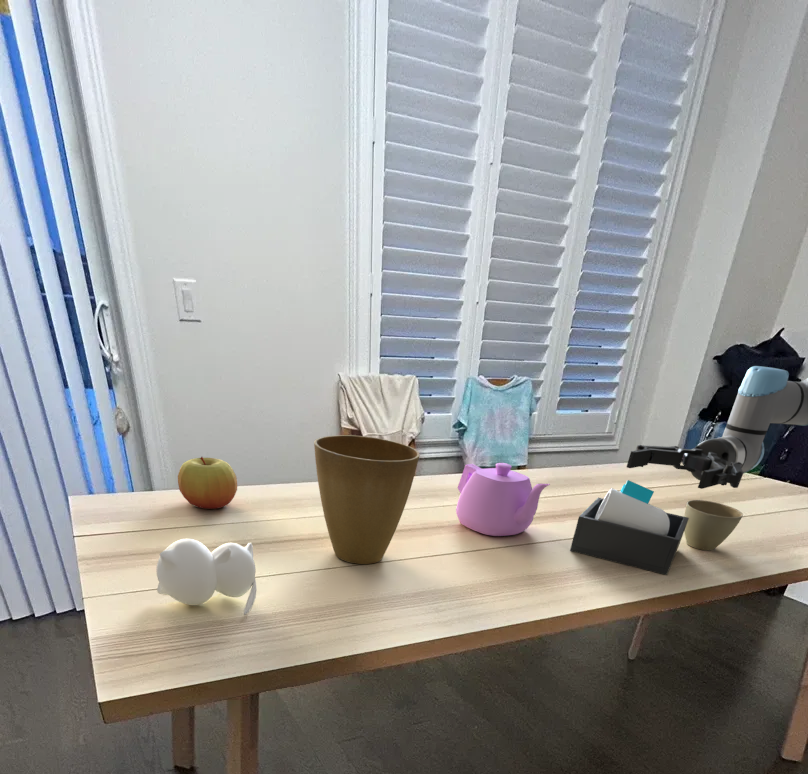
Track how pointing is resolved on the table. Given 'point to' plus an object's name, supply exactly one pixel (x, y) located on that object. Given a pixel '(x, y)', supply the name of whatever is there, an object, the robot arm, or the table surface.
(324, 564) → the table surface
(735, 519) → the flower pot
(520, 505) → the teapot
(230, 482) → the apple
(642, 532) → the open storage box
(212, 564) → the cat figurine
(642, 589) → the table surface
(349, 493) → the plant pot
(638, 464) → the robot arm
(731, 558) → the table surface
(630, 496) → the mug
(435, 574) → the table surface
